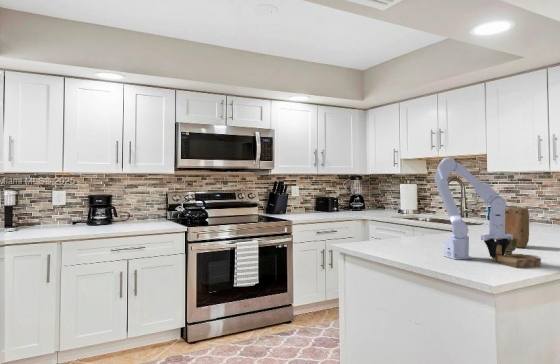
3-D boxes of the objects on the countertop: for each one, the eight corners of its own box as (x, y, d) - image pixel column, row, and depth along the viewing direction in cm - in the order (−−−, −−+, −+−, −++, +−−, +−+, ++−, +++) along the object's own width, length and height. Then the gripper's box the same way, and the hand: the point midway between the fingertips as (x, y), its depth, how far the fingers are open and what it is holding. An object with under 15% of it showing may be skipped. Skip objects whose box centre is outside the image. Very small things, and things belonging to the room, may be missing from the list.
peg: (496, 261, 157) (496, 246, 157) (489, 259, 161) (489, 244, 161) (503, 261, 158) (504, 245, 158) (496, 259, 162) (496, 244, 161)
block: (530, 247, 188) (531, 207, 188) (520, 249, 185) (521, 208, 185) (509, 244, 198) (510, 206, 198) (500, 245, 195) (500, 206, 194)
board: (516, 267, 146) (516, 260, 146) (497, 262, 155) (497, 255, 155) (540, 266, 150) (540, 258, 149) (520, 261, 158) (521, 254, 158)
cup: (499, 252, 177) (500, 235, 177) (518, 254, 172) (518, 236, 172) (496, 254, 171) (497, 237, 171) (515, 256, 167) (516, 238, 166)
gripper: (490, 226, 153) (490, 259, 154) (519, 225, 157) (518, 257, 157) (477, 224, 160) (476, 256, 160) (505, 223, 164) (504, 254, 164)
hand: (496, 256), depth 159 cm, fingers closed on peg, 4 cm apart
